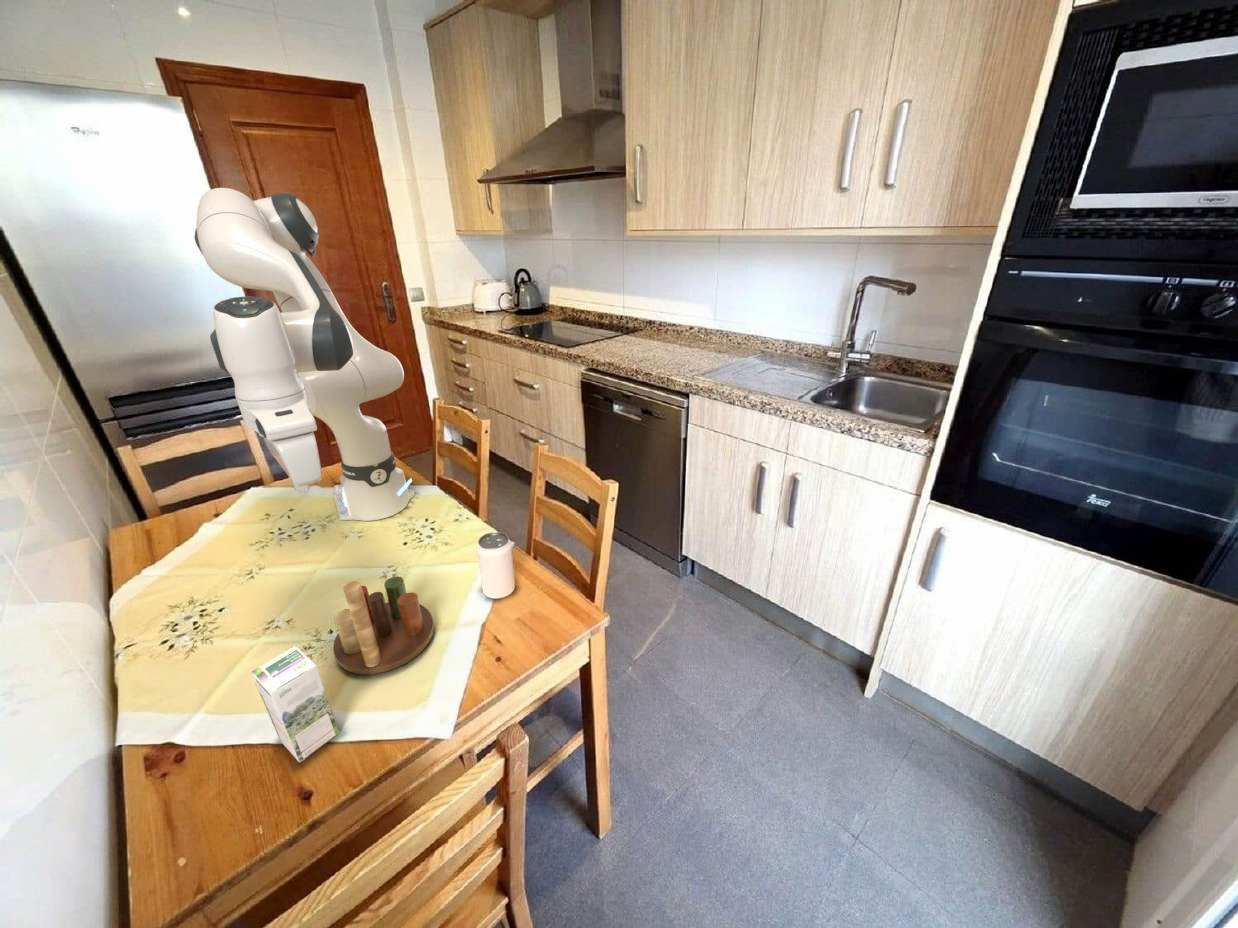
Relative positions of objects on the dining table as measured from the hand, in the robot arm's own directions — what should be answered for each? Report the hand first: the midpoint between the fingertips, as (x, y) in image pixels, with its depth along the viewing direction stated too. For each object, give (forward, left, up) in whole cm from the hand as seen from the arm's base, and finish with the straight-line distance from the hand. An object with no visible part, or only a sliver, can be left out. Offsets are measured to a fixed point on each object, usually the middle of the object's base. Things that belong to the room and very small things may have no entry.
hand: (300, 489), depth 83 cm
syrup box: (+24, -11, -27) cm, 38 cm away
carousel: (+13, +4, -26) cm, 29 cm away
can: (+14, +26, -27) cm, 40 cm away
